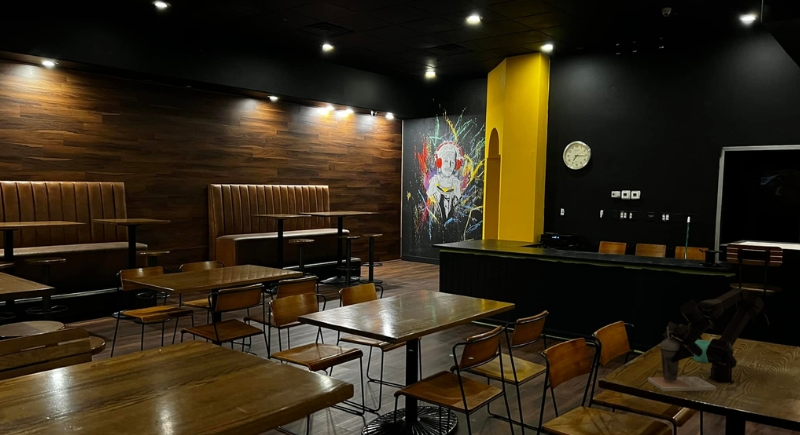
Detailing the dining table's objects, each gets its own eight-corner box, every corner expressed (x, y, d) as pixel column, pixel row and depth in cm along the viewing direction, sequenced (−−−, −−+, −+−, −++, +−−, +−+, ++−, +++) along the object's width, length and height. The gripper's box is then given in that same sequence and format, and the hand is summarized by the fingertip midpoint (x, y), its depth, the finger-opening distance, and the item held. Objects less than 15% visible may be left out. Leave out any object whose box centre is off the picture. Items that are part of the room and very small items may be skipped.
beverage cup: (682, 382, 215) (684, 329, 214) (661, 381, 217) (662, 328, 216) (677, 376, 222) (678, 324, 221) (657, 375, 224) (658, 324, 223)
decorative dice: (689, 358, 256) (689, 340, 256) (704, 357, 258) (704, 339, 258) (703, 363, 248) (703, 345, 248) (718, 362, 250) (718, 344, 250)
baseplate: (697, 379, 226) (697, 374, 226) (716, 390, 214) (716, 384, 214) (647, 380, 225) (647, 375, 225) (663, 391, 213) (663, 385, 213)
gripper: (668, 309, 228) (640, 338, 228) (694, 320, 209) (664, 351, 209) (687, 329, 229) (659, 357, 229) (715, 341, 210) (685, 372, 210)
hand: (666, 359), depth 219 cm, fingers closed on beverage cup, 6 cm apart
